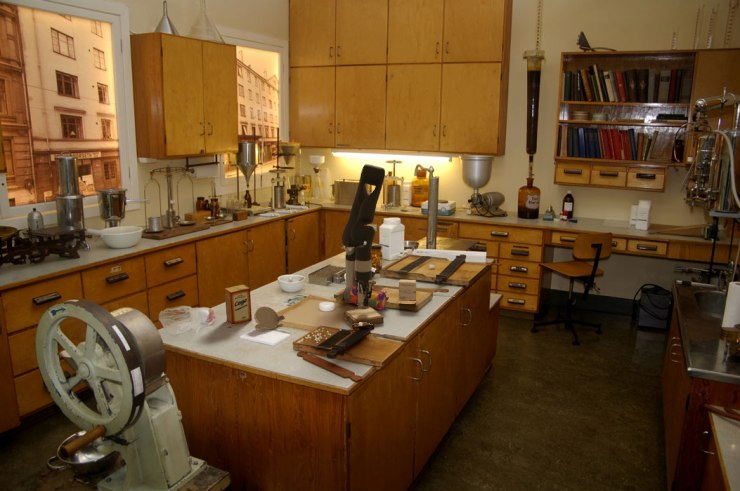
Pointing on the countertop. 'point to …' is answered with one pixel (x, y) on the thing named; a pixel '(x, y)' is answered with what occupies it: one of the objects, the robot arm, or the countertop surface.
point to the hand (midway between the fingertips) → (363, 304)
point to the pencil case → (375, 301)
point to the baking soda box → (238, 304)
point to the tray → (363, 316)
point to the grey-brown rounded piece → (267, 318)
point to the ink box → (407, 290)
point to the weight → (361, 301)
